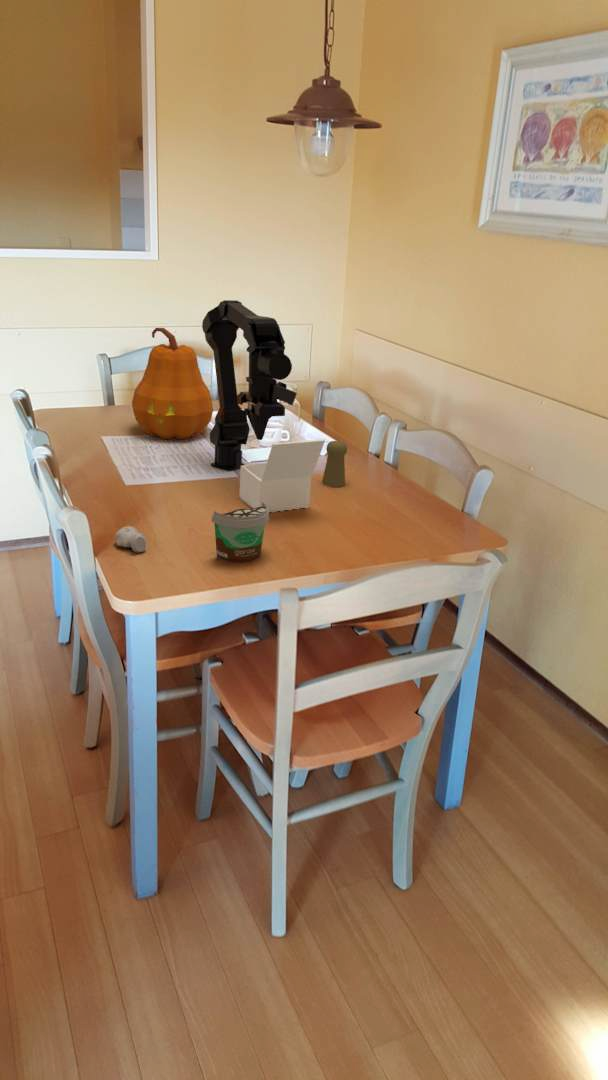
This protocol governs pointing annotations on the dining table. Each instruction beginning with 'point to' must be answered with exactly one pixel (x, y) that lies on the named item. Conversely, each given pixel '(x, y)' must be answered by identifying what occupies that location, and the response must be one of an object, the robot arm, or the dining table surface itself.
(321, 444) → the carton flap
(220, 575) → the dining table surface
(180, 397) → the decorative pumpkin
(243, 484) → the carton
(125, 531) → the grey rounded lumpy piece
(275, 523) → the dining table surface
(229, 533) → the food container
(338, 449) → the cork
